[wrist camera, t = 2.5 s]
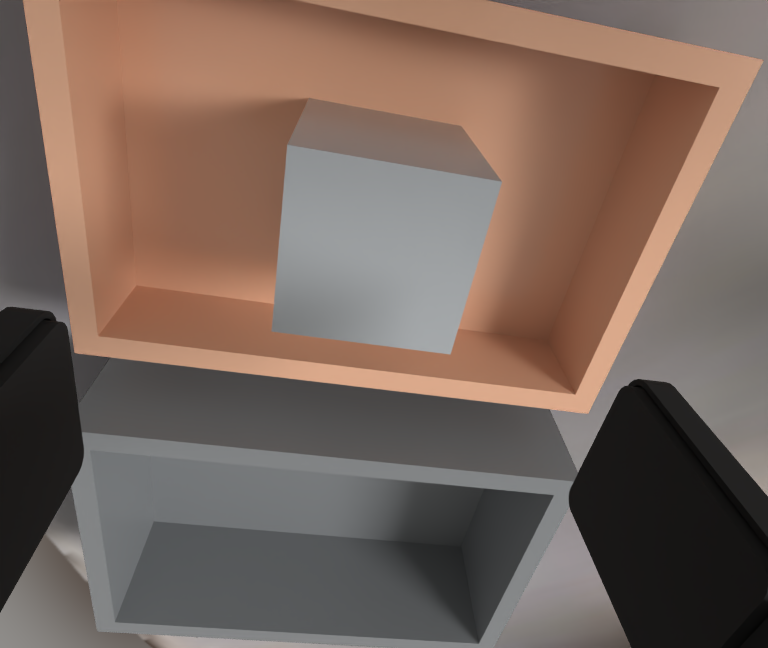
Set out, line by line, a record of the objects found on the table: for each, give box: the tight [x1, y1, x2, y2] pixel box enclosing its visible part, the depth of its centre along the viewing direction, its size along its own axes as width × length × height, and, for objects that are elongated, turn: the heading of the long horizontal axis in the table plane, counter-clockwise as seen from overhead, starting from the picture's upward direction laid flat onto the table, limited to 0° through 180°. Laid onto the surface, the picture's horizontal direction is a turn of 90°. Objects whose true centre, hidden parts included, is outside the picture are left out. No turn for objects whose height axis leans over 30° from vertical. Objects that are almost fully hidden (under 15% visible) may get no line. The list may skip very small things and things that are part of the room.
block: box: [272, 98, 502, 354], centre depth 16 cm, size 5×5×6 cm
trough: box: [23, 0, 764, 414], centre depth 18 cm, size 12×18×4 cm, turn 80°
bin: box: [71, 357, 578, 648], centre depth 24 cm, size 12×18×6 cm, turn 80°
